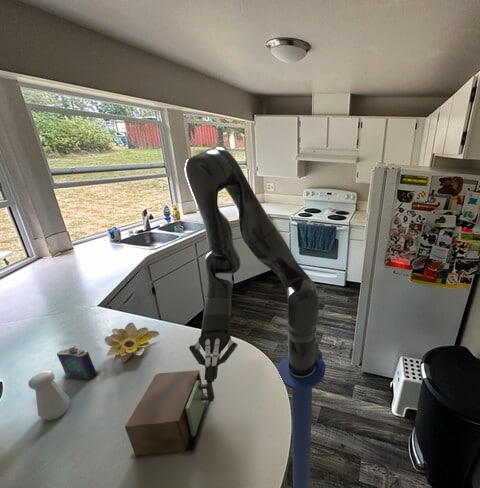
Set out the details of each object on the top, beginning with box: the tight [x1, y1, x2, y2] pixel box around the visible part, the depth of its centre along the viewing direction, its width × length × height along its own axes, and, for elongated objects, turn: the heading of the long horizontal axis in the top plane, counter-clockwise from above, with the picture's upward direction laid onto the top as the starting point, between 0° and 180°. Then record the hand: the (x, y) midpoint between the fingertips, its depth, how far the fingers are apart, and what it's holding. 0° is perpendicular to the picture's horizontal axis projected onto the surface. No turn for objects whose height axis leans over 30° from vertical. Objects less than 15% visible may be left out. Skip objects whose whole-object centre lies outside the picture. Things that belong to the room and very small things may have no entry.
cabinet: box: [124, 369, 210, 457], centre depth 63 cm, size 13×15×10 cm
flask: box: [56, 344, 98, 380], centre depth 76 cm, size 9×3×11 cm, turn 85°
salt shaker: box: [28, 370, 71, 421], centre depth 64 cm, size 6×6×13 cm
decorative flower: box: [103, 322, 161, 363], centre depth 85 cm, size 15×11×10 cm
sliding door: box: [185, 380, 215, 437], centre depth 64 cm, size 4×8×10 cm, turn 8°
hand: (210, 382), depth 66 cm, fingers closed
